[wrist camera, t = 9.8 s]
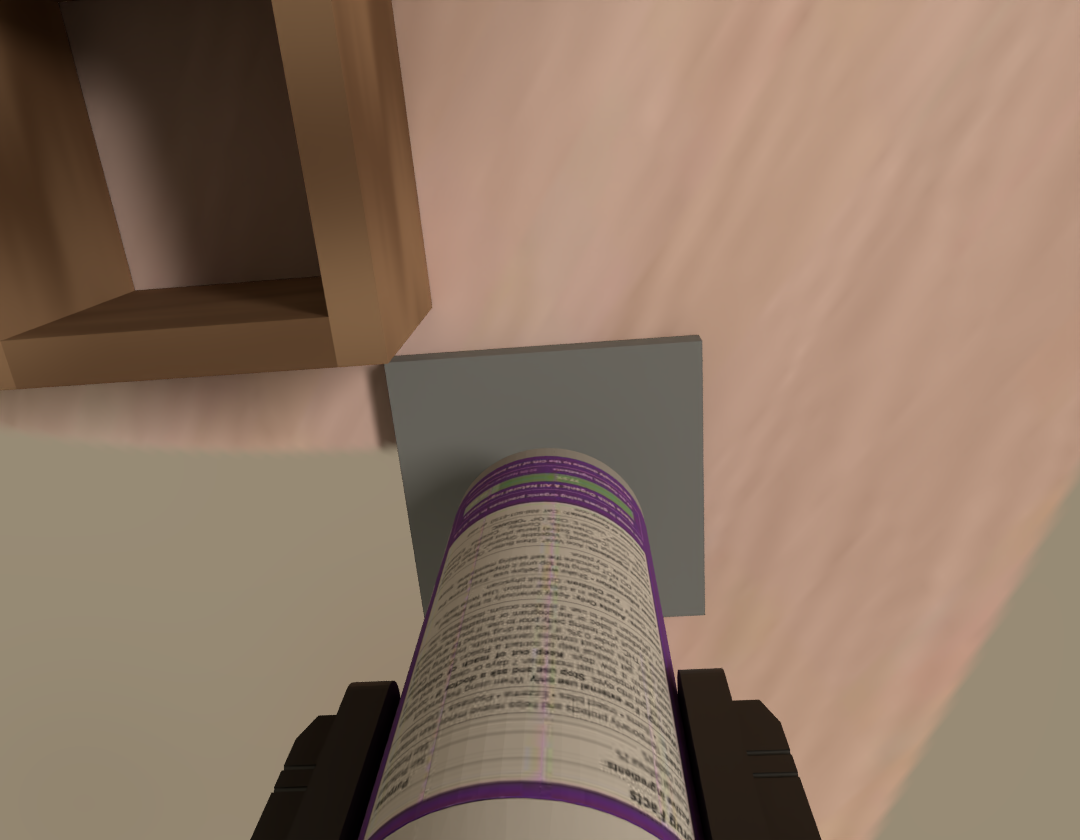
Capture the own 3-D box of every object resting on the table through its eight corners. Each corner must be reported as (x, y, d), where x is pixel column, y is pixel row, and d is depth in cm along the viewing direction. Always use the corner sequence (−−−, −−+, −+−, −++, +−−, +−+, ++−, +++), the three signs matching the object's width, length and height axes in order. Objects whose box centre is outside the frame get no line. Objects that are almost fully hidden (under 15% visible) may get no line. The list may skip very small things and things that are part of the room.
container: (594, 642, 20) (649, 1859, 6) (425, 574, 19) (48, 1731, 5) (681, 493, 18) (1031, 1672, 4) (499, 415, 18) (234, 1467, 4)
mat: (389, 356, 20) (383, 362, 20) (698, 334, 20) (702, 340, 19) (429, 615, 23) (425, 627, 23) (701, 602, 23) (704, 615, 22)
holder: (1, -45, 17) (-210, -107, 13) (380, -85, 17) (304, -167, 12) (108, 331, 20) (-31, 392, 16) (432, 307, 20) (388, 363, 15)
